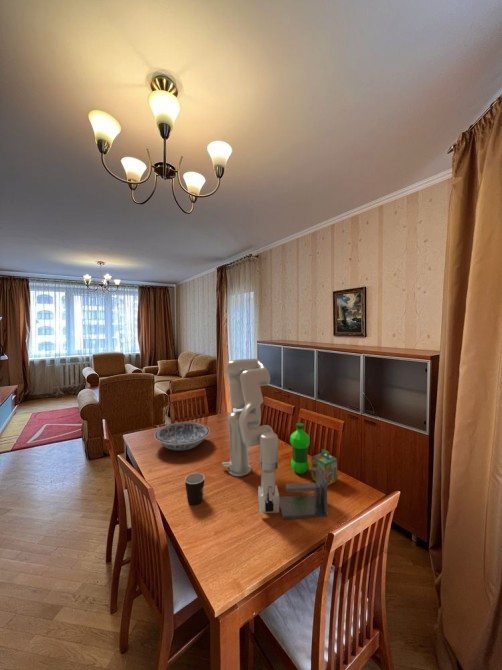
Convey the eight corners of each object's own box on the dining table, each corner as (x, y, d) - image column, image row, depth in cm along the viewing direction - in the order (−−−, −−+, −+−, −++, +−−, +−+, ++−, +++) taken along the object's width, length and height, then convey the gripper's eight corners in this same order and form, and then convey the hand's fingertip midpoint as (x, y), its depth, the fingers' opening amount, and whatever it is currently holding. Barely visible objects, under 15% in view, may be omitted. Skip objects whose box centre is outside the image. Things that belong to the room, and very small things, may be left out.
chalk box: (310, 479, 134) (310, 450, 134) (322, 473, 140) (322, 445, 139) (325, 488, 127) (325, 457, 126) (337, 481, 132) (337, 451, 131)
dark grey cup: (195, 509, 113) (195, 486, 112) (181, 502, 117) (180, 480, 117) (213, 494, 123) (213, 473, 122) (199, 488, 127) (199, 467, 127)
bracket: (282, 518, 107) (282, 484, 106) (278, 499, 119) (278, 468, 118) (327, 516, 108) (327, 482, 107) (318, 497, 120) (318, 466, 119)
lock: (259, 512, 108) (259, 496, 108) (258, 501, 114) (258, 486, 114) (279, 512, 108) (279, 495, 108) (276, 501, 115) (276, 485, 114)
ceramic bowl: (182, 465, 148) (181, 447, 148) (142, 450, 166) (142, 434, 166) (220, 442, 178) (220, 427, 177) (183, 431, 196) (183, 418, 195)
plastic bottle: (309, 466, 146) (309, 421, 145) (309, 477, 135) (309, 428, 135) (291, 464, 148) (290, 420, 147) (289, 475, 138) (289, 427, 137)
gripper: (257, 452, 119) (257, 491, 120) (261, 476, 101) (261, 521, 103) (274, 452, 119) (274, 491, 120) (281, 475, 102) (280, 520, 103)
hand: (268, 504), depth 111 cm, fingers closed on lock, 6 cm apart
